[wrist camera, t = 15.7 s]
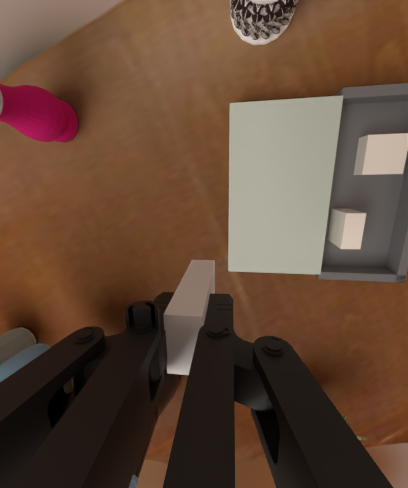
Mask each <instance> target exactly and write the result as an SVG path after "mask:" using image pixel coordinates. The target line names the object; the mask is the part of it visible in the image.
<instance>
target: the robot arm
mask: <svg viewBox="0 0 408 488" xmlns="http://www.w3.org/2000/svg"><path fill="white" fill-rule="evenodd" d="M125 315H126V324H127V328H126V329H125V330H124V332H123V333H122V334H118V335H112V336H104V331H103V329H101V328H99V327H93V326H92V327H85V328H82V329H79V330H77V331H75V332H73V333H71V334H70V335H68V336H67V337H66V338H64V339H63V340H61V341H60V342H58V343H57V344H55V345H54V346H52V347H51V346H50V345H48V344H45V343H39V344H35V345H33V346H30V347H28V348H26V349H25V350H23V351H21V352H20V353H18V354H16V355H15V356H13V357H12V358H10V359H9V360H7V361H6V362H4V363H3V364H1V365H0V488H136V486H137V484H138V478H139V475H140V472H141V469H142V465H143V462H144V459H145V456H146V453H147V450H148V447H149V444H150V441H151V438H152V435H153V432H154V429H155V425H156V423H157V420H158V417H159V415H160V414H161V413H162V411H163V410H164V408H165V407H166V406H167V404H168V403H169V402H170V400H171V399H172V397H173V396H174V394H175V392H176V389H177V386H178V382H179V374H181V375H188V380H187V384H186V389H185V393H184V397H183V402H182V406H181V410H180V415H179V419H178V423H177V428H176V432H175V437H174V441H173V445H172V450H171V454H170V458H169V463H168V467H167V471H166V476H165V480H164V484H163V488H235V430H234V401H236V402H238V403H240V404H243V405H245V406H248V407H250V408H251V413H252V416H253V419H254V422H255V425H256V428H257V431H258V434H259V437H260V440H261V443H262V446H263V449H264V452H265V455H266V458H267V461H268V464H269V467H270V470H271V473H272V476H273V479H274V482H275V485H276V488H393V487H392V485H391V484H390V483H389V481H388V480H387V478H386V477H385V476H384V474H383V473H382V472H381V470H380V469H379V467H378V466H377V465H376V463H375V462H374V460H373V459H372V458H371V456H370V455H369V453H368V452H367V451H366V449H365V448H364V446H363V445H362V444H361V442H360V441H359V439H358V438H357V437H356V435H355V434H354V432H353V431H352V430H351V428H350V427H349V425H348V424H347V423H346V421H345V420H344V419H343V417H342V416H341V414H340V413H339V412H338V410H337V409H336V407H335V406H334V405H333V403H332V402H331V400H330V399H329V398H328V396H327V395H326V393H325V392H324V391H323V389H322V388H321V386H320V385H319V384H318V382H317V381H316V380H315V378H314V377H313V375H312V374H311V373H310V371H309V370H308V368H307V367H306V366H305V364H304V363H303V361H302V360H301V359H300V357H299V356H298V354H297V353H296V352H295V350H294V349H293V348H292V346H291V345H290V344H289V343H288V342H286V341H284V340H283V339H281V338H278V337H274V336H264V337H260V338H258V339H257V340H255V342H254V343H250V342H247V341H245V340H242V339H241V338H239V337H238V336H237V335H236V334H235V332H234V329H233V298H232V297H231V296H230V295H229V294H215V260H192V261H191V263H190V265H189V266H188V268H187V270H186V272H185V274H184V276H183V278H182V280H181V282H180V284H179V286H178V288H177V289H176V291H175V293H170V292H163V293H161V294H160V295H158V296H157V297H156V298H155V300H154V301H139V302H135V303H132V304H130V305H128V306H127V307H126V308H125Z"/></svg>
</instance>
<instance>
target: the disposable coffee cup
mask: <svg viewBox="0 0 408 488" xmlns="http://www.w3.org/2000/svg"><path fill="white" fill-rule="evenodd" d="M35 344H36V339H35V336H34V334H33V333H31V332H30V331H29V330H28V329H25V328H23V327H21V328H16V329H12V330H9V331H7V332H5V333H3V334H1V335H0V365H1V364H3V363H4V362H6V361H7V360H9V359H10V358H12V357H13V356H15V355H16V354H18V353H20V352H21V351H23V350H25V349H26V348H28V347H30V346H33V345H35Z"/></svg>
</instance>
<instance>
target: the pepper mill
mask: <svg viewBox="0 0 408 488" xmlns="http://www.w3.org/2000/svg"><path fill="white" fill-rule="evenodd" d="M0 121H2V122H5V123H7V124H9V125H11V126H12V127H14V128H15V129H17V130H18V131H19V132H21V133H22V134H24V135H25V136H27V137H29V138H32V139H34V140H38V141H42V142H50V141H53V140H54V141H59V142H67V141H70V140H71V139H73V138H74V136H75V135H76V133H77V130H78V119H77V116H76V113H75V111H74V110H73V108H72V107H71V106H70V105H69V104H67V103H66V102H64V101H62V100H59V99H57V98H56V97H55V96H54V95H53V94H52V93H50V92H49V91H47V90H45V89H42V88H39V87H37V86H30V85H22V86H16V87H10V86H5V85H1V84H0Z"/></svg>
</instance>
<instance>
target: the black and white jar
mask: <svg viewBox="0 0 408 488" xmlns="http://www.w3.org/2000/svg"><path fill="white" fill-rule="evenodd" d="M298 2H299V0H229V4H230V17H231V21H232V24H233V28H234V30H235V32H236V33H237V34H238V36H239V37H240V38H241V39H242V40H243V41H245V42H247V43H249V44H251V45H266V44H268V43H270V42H272V41H274V40H276V39H277V38H278V37H279V36H280V35H281V34H282V33H283V32H284V31H285V30H286V29H287V27H288V25H289V23H290V21H291V18H292V16H293V14H294V12H295V10H296V6H295V5H296V4H297V3H298Z"/></svg>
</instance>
